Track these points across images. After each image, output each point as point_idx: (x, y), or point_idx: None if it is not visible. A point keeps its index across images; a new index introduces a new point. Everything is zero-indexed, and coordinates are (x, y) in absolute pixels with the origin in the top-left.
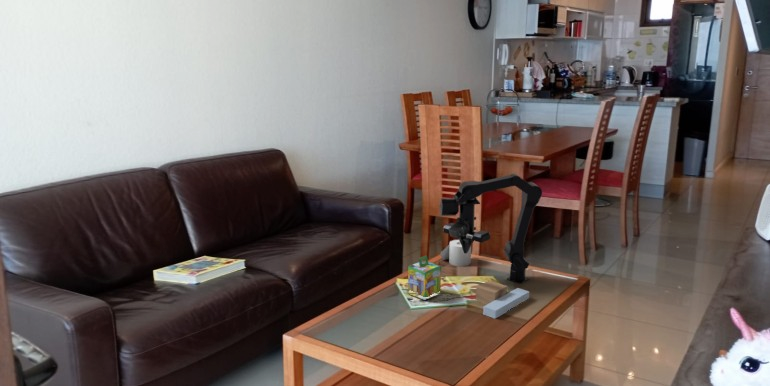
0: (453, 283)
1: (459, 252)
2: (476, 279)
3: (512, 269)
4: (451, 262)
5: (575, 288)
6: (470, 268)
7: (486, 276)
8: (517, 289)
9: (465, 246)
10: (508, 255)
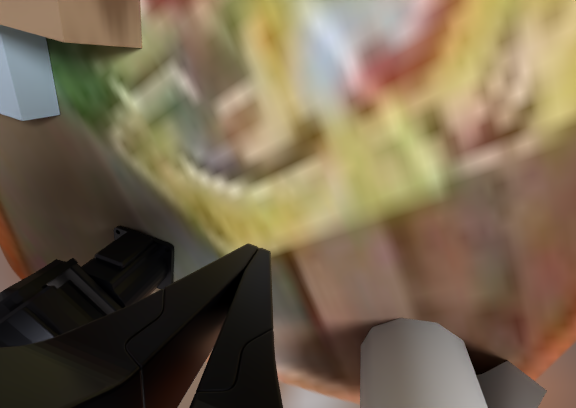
0: (365, 106)
1: (414, 388)
2: (274, 208)
3: (112, 269)
4: (450, 338)
5: (3, 248)
6: (345, 307)
7: None
8: (9, 100)
9: (190, 296)
10: (23, 307)
